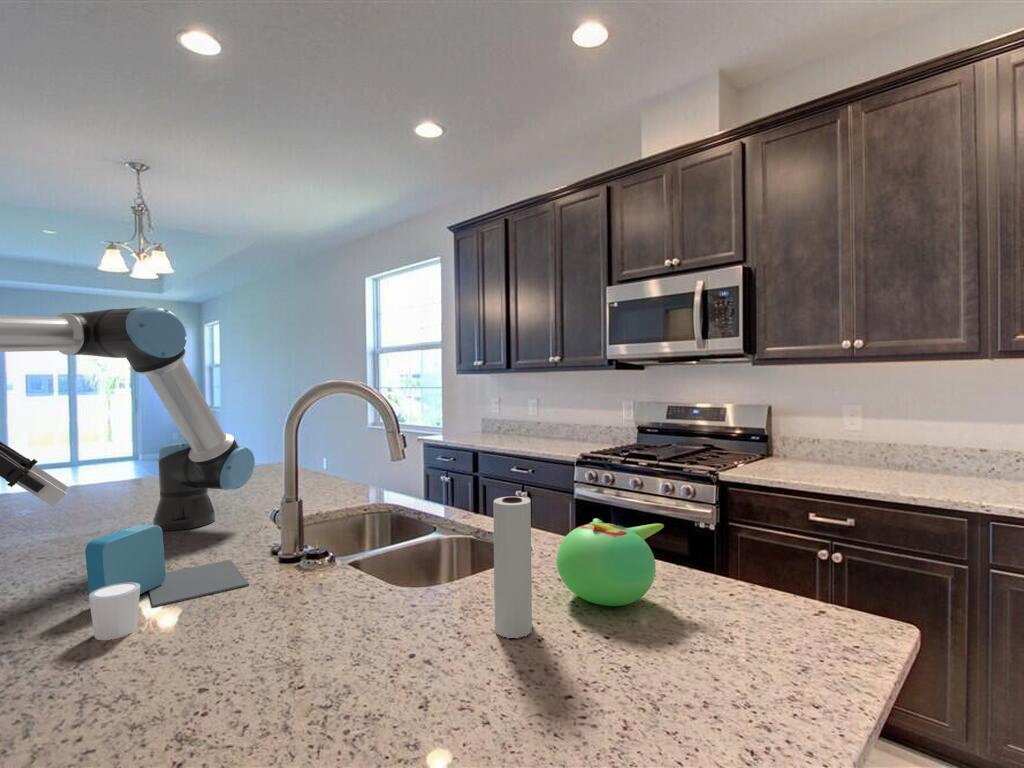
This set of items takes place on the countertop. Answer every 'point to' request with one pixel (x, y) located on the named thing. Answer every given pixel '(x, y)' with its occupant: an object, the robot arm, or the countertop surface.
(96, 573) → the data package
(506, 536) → the paper towel roll
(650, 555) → the green rounded piece
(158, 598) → the mat
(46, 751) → the countertop surface
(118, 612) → the white short cylinder
